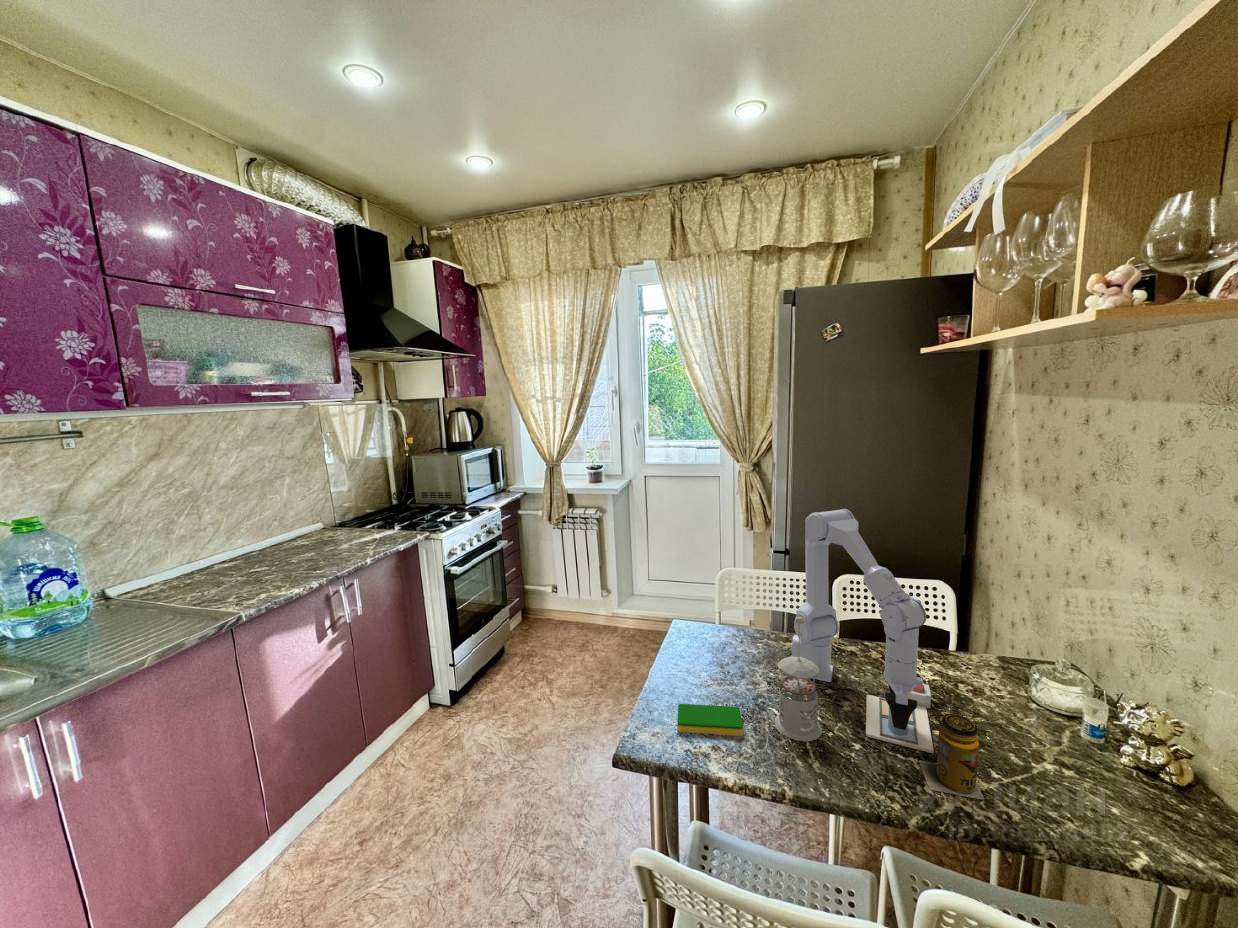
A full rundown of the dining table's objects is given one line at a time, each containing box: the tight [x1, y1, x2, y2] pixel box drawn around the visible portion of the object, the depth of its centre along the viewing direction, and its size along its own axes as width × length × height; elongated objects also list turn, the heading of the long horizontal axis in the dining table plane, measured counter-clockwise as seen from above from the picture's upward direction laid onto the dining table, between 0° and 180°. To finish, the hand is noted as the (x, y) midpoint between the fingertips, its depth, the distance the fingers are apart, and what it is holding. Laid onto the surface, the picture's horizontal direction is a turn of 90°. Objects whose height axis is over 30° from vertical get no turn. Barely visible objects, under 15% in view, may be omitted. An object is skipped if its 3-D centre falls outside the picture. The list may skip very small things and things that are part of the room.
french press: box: [774, 616, 823, 742], centre depth 105 cm, size 10×12×25 cm
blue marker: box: [888, 693, 908, 735], centre depth 102 cm, size 4×4×7 cm
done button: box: [912, 685, 923, 693], centre depth 114 cm, size 3×3×3 cm
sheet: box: [865, 694, 935, 754], centre depth 106 cm, size 12×15×1 cm
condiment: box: [918, 713, 985, 800], centre depth 89 cm, size 7×8×12 cm
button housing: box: [908, 682, 932, 709], centre depth 114 cm, size 6×6×3 cm
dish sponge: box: [677, 703, 744, 737], centre depth 108 cm, size 7×14×2 cm, turn 82°
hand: (898, 716), depth 102 cm, fingers open, 7 cm apart
